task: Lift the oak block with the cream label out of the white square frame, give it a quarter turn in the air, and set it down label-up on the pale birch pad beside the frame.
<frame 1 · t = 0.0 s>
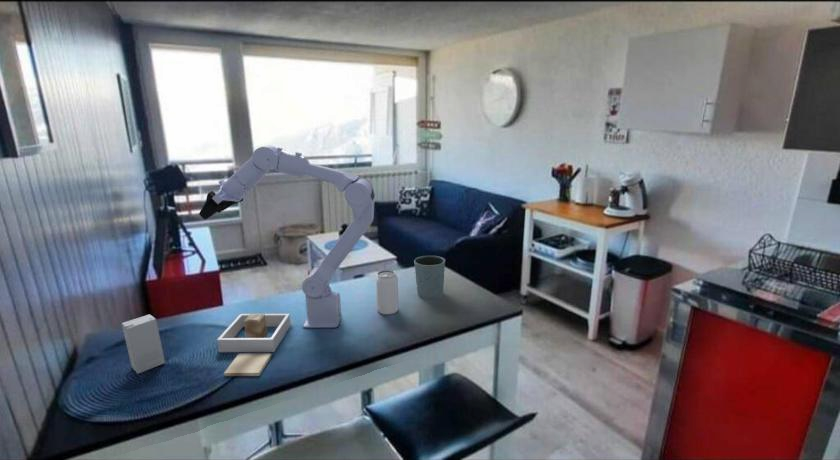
hand: (209, 213, 112), 32 cm above the table, tool tilted 50°, fingers open, 7 cm apart
skincare box: (148, 367, 99), on the table
can: (387, 311, 127), on the table
white square frame: (256, 337, 111), on the table
birch pad: (248, 365, 99), on the table
supplement box: (315, 300, 135), on the table
grey-green cup: (429, 294, 138), on the table
oak block: (257, 337, 111), resting in white square frame
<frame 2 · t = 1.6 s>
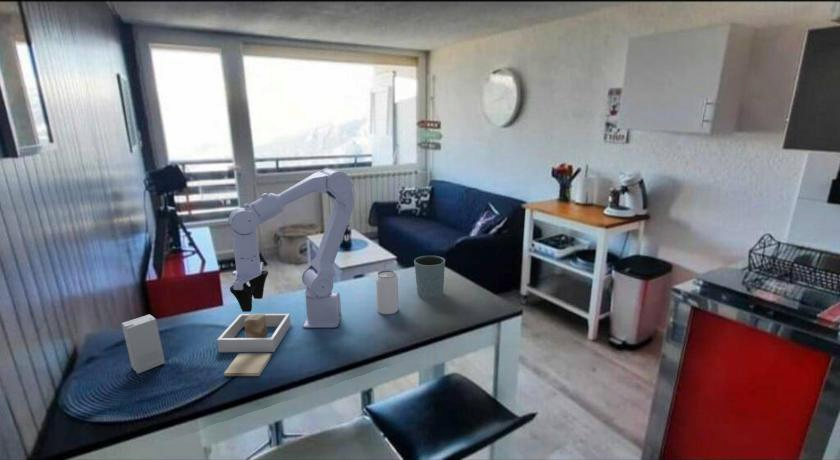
hand: (252, 304, 109), 10 cm above the table, tool pointing down, fingers open, 7 cm apart
nothing on the table moved.
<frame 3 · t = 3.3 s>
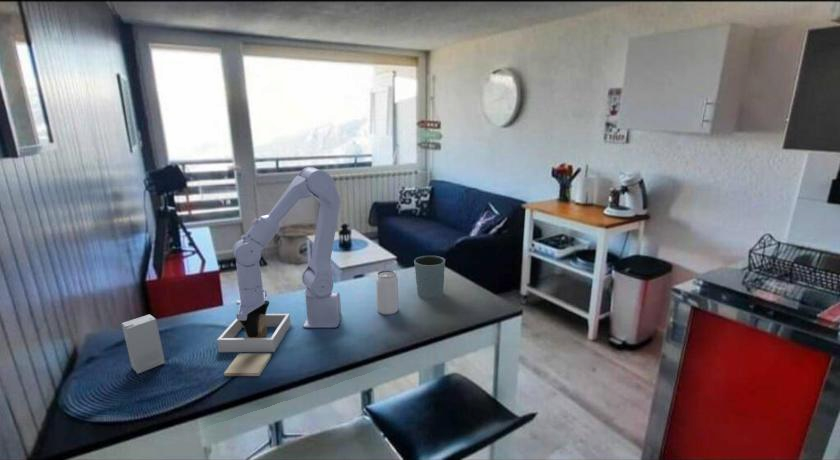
hand: (256, 332, 111), 2 cm above the table, tool pointing down, fingers closed on oak block, 4 cm apart
oak block: (256, 337, 111), resting in white square frame, touching gripper
everything else where it was.
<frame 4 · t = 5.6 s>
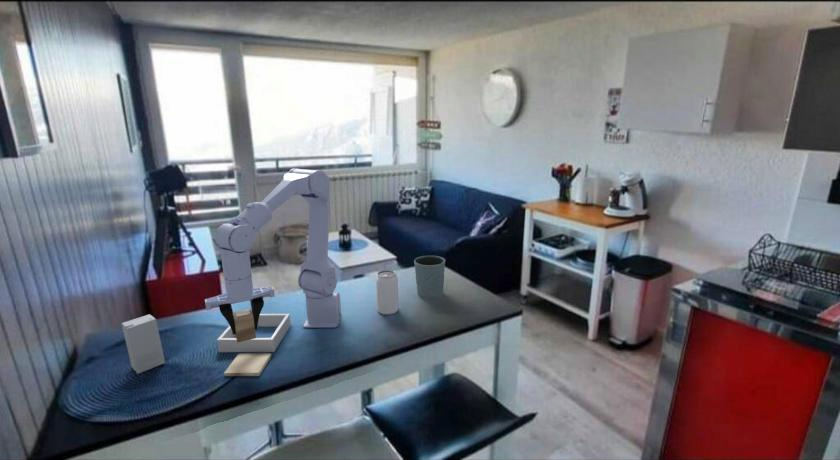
hand: (244, 330, 97), 9 cm above the table, tool pointing down, fingers closed on oak block, 4 cm apart
oak block: (245, 336, 98), point 7 cm above the table, touching gripper
everything else where it was.
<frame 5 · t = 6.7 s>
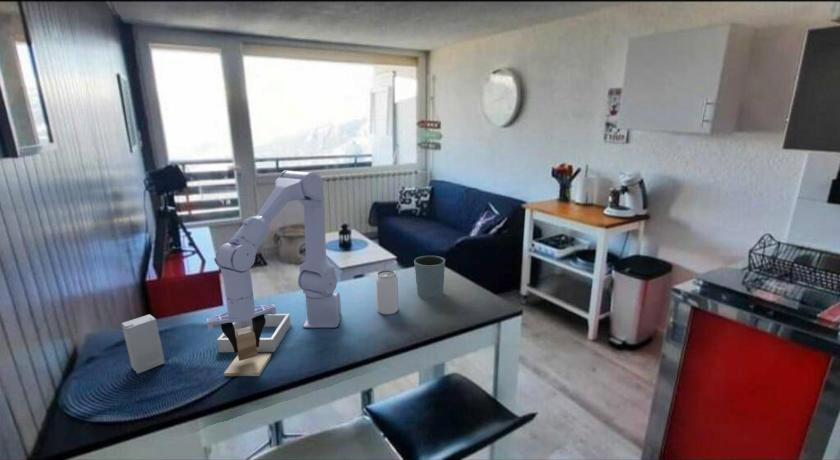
hand: (246, 348, 98), 5 cm above the table, tool pointing down, fingers closed on oak block, 4 cm apart
oak block: (247, 354, 98), point 3 cm above the table, touching gripper
everything else where it was.
when the fingers open (4 cm above the table, at t = 7.8 s): oak block drops 1 cm, resting on birch pad.
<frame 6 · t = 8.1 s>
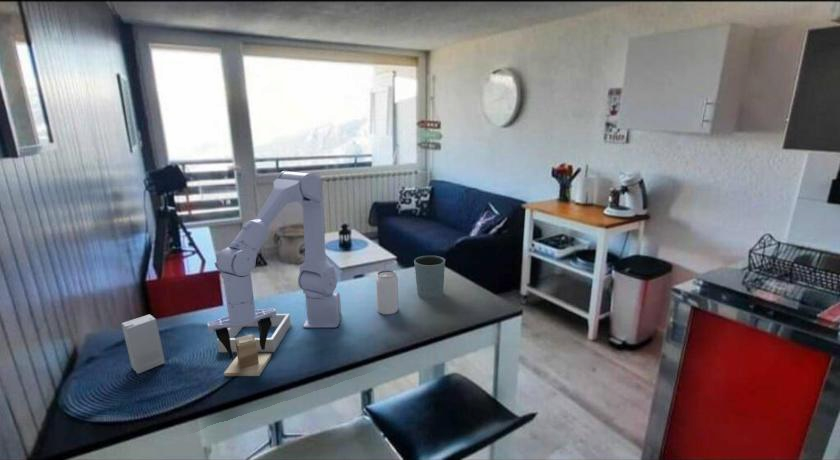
hand: (247, 352, 98), 4 cm above the table, tool pointing down, fingers open, 6 cm apart
oak block: (248, 362, 99), point 1 cm above the table, touching birch pad
everything else where it was.
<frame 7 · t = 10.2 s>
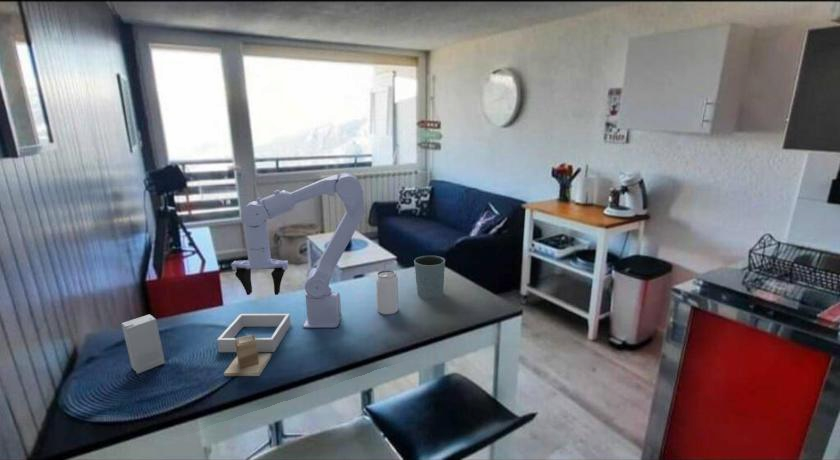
hand: (263, 293, 115), 10 cm above the table, tool pointing down, fingers open, 7 cm apart
nothing on the table moved.
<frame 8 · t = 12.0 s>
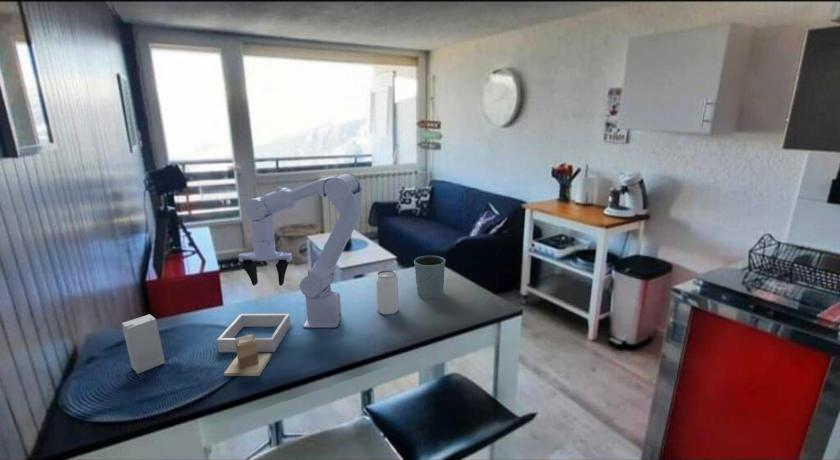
hand: (268, 284, 120), 10 cm above the table, tool pointing down, fingers open, 7 cm apart
nothing on the table moved.
at the end: oak block 0.3 cm off-centre on the birch pad, point 0.8 cm above the birch pad's base; oak block tilted 0°; the gripper is holding nothing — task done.
